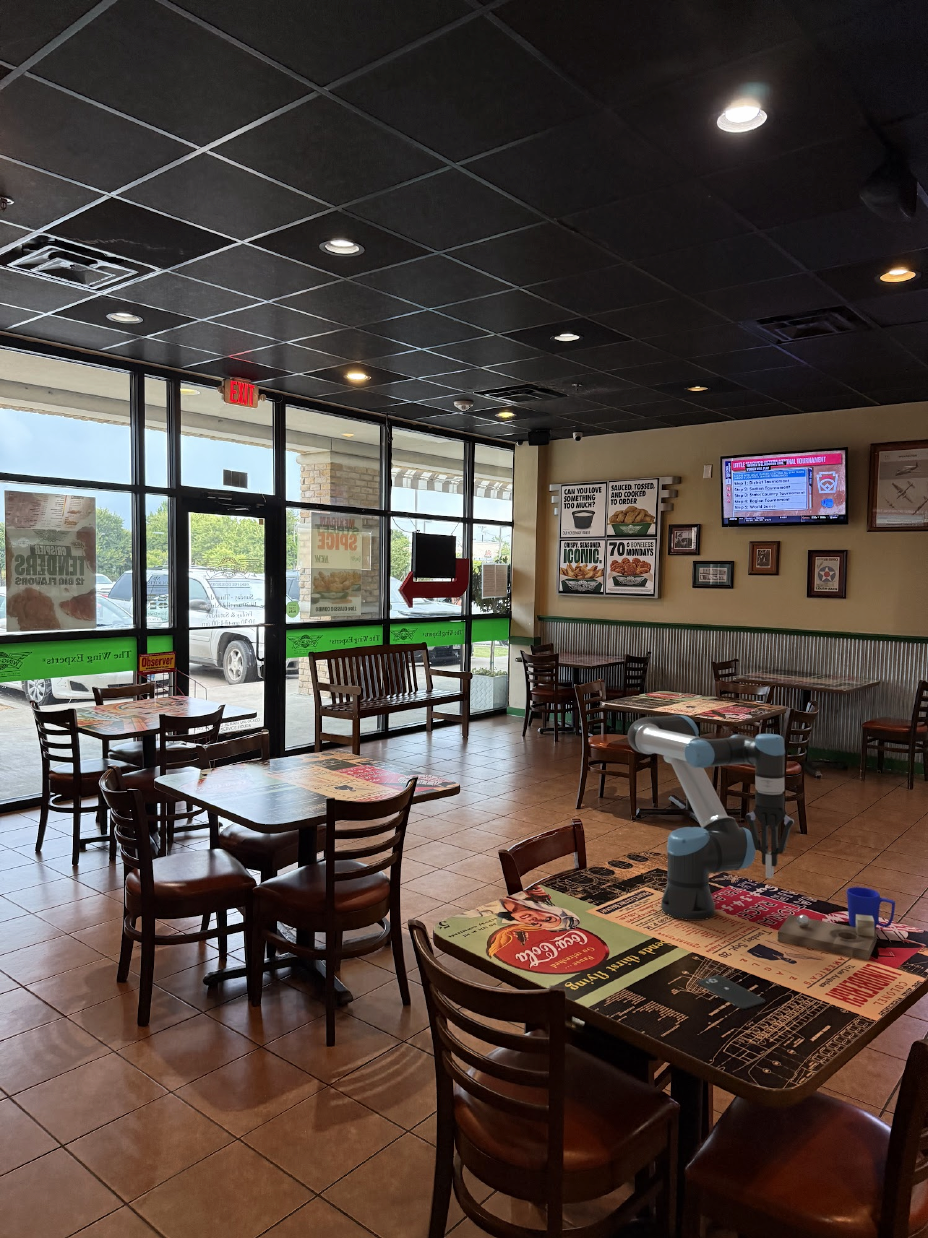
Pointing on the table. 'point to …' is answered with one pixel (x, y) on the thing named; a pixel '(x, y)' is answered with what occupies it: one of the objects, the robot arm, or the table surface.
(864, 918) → the maple cube
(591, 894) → the table surface
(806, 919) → the ball
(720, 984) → the smartphone
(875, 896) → the mug
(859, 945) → the deck
